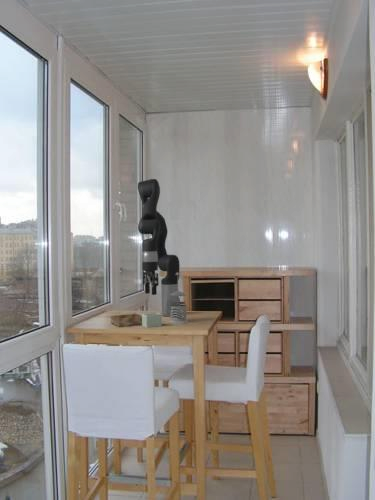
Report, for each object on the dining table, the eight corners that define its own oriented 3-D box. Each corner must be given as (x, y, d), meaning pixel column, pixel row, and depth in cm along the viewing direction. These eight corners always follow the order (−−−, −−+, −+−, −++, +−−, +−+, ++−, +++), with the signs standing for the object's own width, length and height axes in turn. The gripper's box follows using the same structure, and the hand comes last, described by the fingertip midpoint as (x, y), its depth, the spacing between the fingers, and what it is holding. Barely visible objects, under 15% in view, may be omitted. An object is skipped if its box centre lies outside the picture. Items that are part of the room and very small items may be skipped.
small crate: (157, 324, 271) (156, 312, 271) (162, 326, 266) (161, 313, 265) (142, 326, 267) (141, 313, 267) (146, 327, 262) (146, 315, 262)
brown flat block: (135, 321, 282) (135, 313, 282) (145, 324, 271) (144, 316, 271) (111, 323, 276) (110, 315, 276) (119, 327, 265) (119, 318, 265)
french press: (186, 323, 272) (185, 273, 272) (163, 323, 274) (162, 273, 274) (190, 320, 282) (188, 271, 281) (168, 319, 284) (166, 271, 283)
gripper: (162, 260, 261) (163, 294, 261) (151, 260, 274) (152, 292, 274) (148, 261, 258) (149, 295, 258) (137, 260, 270) (138, 293, 271)
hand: (150, 294), depth 266 cm, fingers open, 8 cm apart
